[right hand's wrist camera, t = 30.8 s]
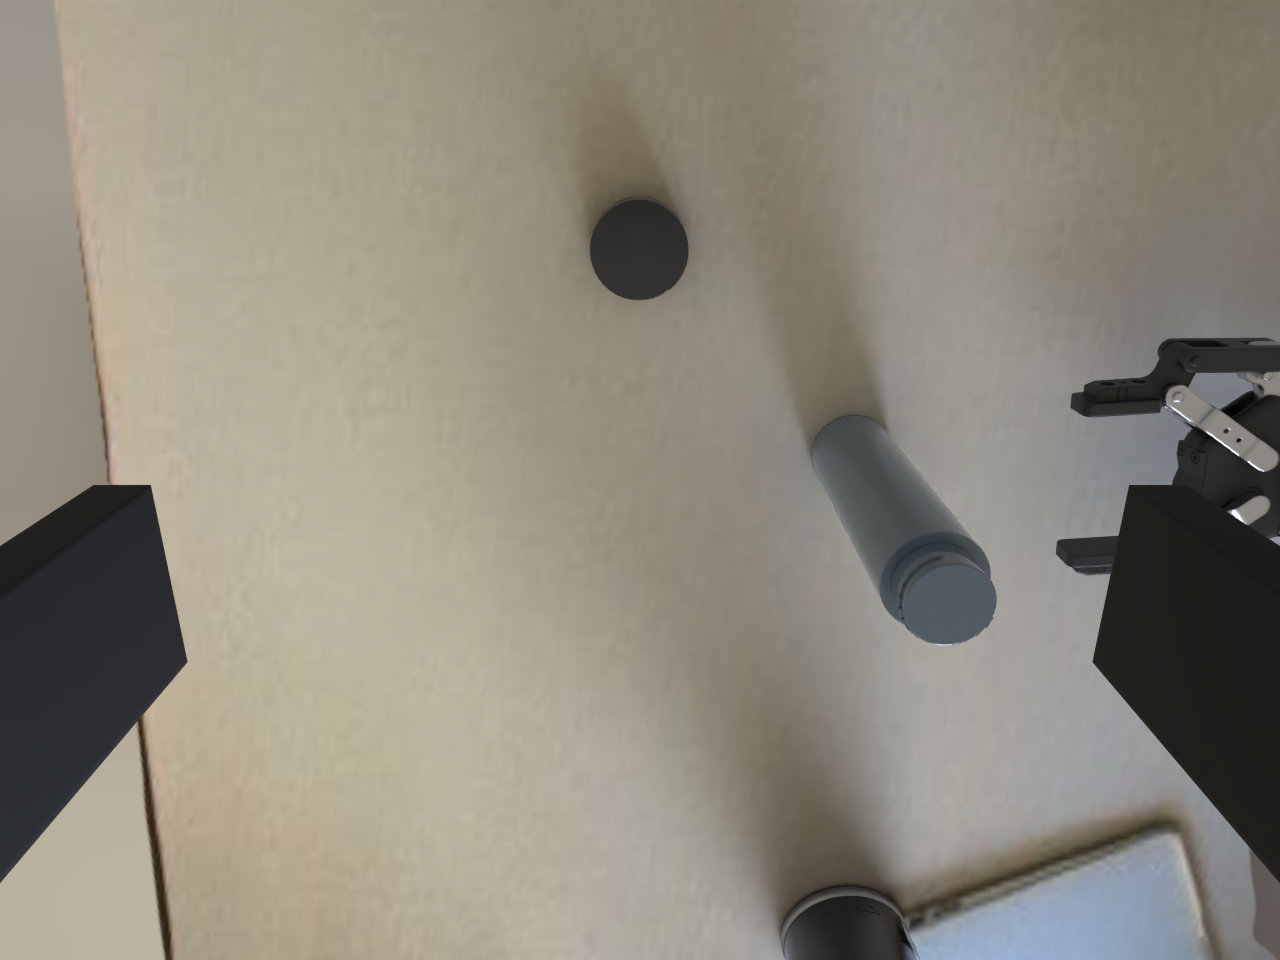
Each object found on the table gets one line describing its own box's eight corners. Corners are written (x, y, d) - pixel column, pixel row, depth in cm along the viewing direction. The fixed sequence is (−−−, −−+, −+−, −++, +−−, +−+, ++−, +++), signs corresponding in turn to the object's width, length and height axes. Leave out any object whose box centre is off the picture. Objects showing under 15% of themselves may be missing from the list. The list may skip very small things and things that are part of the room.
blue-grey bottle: (796, 469, 55) (870, 628, 38) (837, 401, 54) (932, 534, 36) (864, 501, 56) (966, 672, 39) (905, 435, 55) (1032, 582, 37)
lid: (700, 216, 50) (702, 220, 48) (667, 306, 52) (668, 313, 50) (610, 182, 49) (608, 184, 47) (579, 274, 51) (577, 281, 49)
